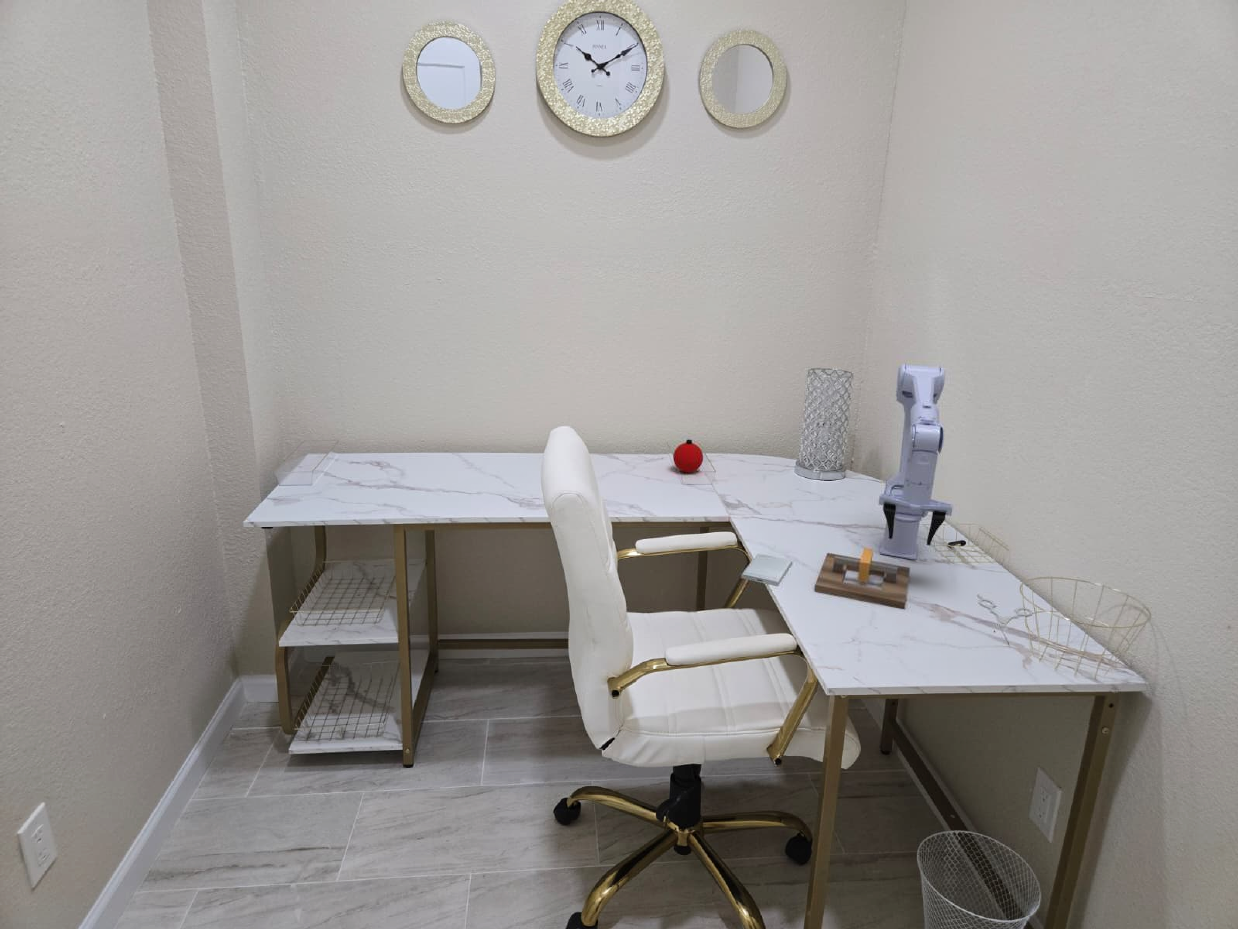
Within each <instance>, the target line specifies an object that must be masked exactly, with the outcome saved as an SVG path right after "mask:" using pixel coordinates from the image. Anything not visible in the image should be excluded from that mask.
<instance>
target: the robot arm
mask: <svg viewBox="0 0 1238 929" xmlns="http://www.w3.org/2000/svg"><path fill="white" fill-rule="evenodd" d="M896 379H897V380H896V391H895V392H896V393H895V396H896V402H898V403H899V404H901V405H902V406H903V412H904V419H903V420H904V421H903V431H902V440H901V451H900V461H899V471H898V474H896V475H894V476H892V477H890V478H889V479H888V480H887V481H886V482H885V488H884V491H883V493H880V495H879V498H878V500H879V501H878V506H882V511H883V514H884V516H885V517H884V518H885V519H886V524H885V529H884V531H885V532H884V536H883V538H882V540H881V545H880V549H879V554H881V555H886V556H891V557H898V558H902V559H908V560H913V561H914V560H916V559H917V553H918V552H917V551H918V543H917V542H918V533H919V528H920V522H922V521H923V520H922V518H923V519H924V518H926V517H927V516H928V515H929V512H931V513H932V516H931V519H930V520H931V521H930V527H929V531H928V535H927V537H926V538H927V539H926V546H931V543H932V540H933V538H934V536H935V535H936V533H937V531H938V530H939V528H940V527H941V526H942V525H943V523H944V522H945V520H946V516H950V517H951V516H952V514H953V508H954V505H953V504H951V503H947V502H942V501H939V500H936V499H932V494H933V488H934V487H933V486H934V481H935V475H936V474H935V473H936V470H937V464H938V456H939V454H941V452H942V449H943V446H944V440H945V429H944V425H943V424H942V423H940V414H939V408H938V406H937V404H938V402H939V400H940V397H941V396H942V395H941V394H942V392H943V391H944V385H945V381H946V370H945V368H944V367H943V366H939V367H938V366H937V367H936V366H927V365H910V364H905V363H902V364H901V365H899V368H898V372H897V378H896Z"/></svg>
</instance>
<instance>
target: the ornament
mask: <svg viewBox="0 0 1238 929" xmlns="http://www.w3.org/2000/svg"><path fill="white" fill-rule="evenodd" d="M672 459H673V463H674V465H675V467H676V468H677V469H678V470H679V471H681V472H684V473H693V472H695V471H697V470H698V469H699V468H700V467H701V466H702V465H703V462H704V454H703V451H702V449H701V447H699V445H697V444H695V443H694V442H693V440H692V439H690V438H689V439H686V440H685V442H683V443H681V444H679V445H678V446H677V447H676V448H675V450H674V451H673V458H672Z"/></svg>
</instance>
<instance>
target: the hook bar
mask: <svg viewBox="0 0 1238 929" xmlns="http://www.w3.org/2000/svg"><path fill="white" fill-rule="evenodd" d="M844 565H848V566H853V567H859V565H860V560H856V559H850V558H845V557H839V556H835V558H834V564H833V572H835V573H841V574H842V572H843V567H844ZM869 569H870V570H875V571H881V572H886V573H887V574H886V581H885V582H888V583H894V584H895V582H896V576H897V569H898V567H895V566H889V565H884V564H878V563H873V562H871V564H870V568H869Z"/></svg>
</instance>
